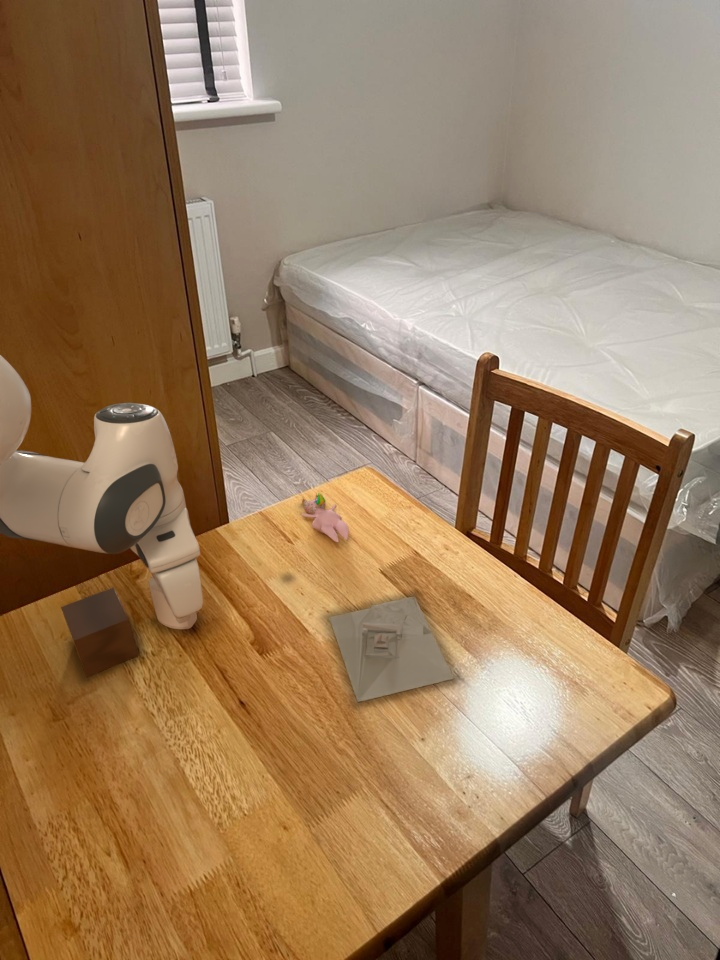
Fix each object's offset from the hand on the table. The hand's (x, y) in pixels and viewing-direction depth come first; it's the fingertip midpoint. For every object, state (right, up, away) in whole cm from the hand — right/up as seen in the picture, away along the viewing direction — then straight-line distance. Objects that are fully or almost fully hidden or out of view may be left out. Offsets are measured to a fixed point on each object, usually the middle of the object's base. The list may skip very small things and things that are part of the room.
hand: (171, 597), depth 101 cm
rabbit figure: (+20, +8, +19) cm, 29 cm away
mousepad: (+27, -4, +1) cm, 27 cm away
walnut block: (-8, -7, -2) cm, 11 cm away
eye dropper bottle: (0, -4, +3) cm, 5 cm away
